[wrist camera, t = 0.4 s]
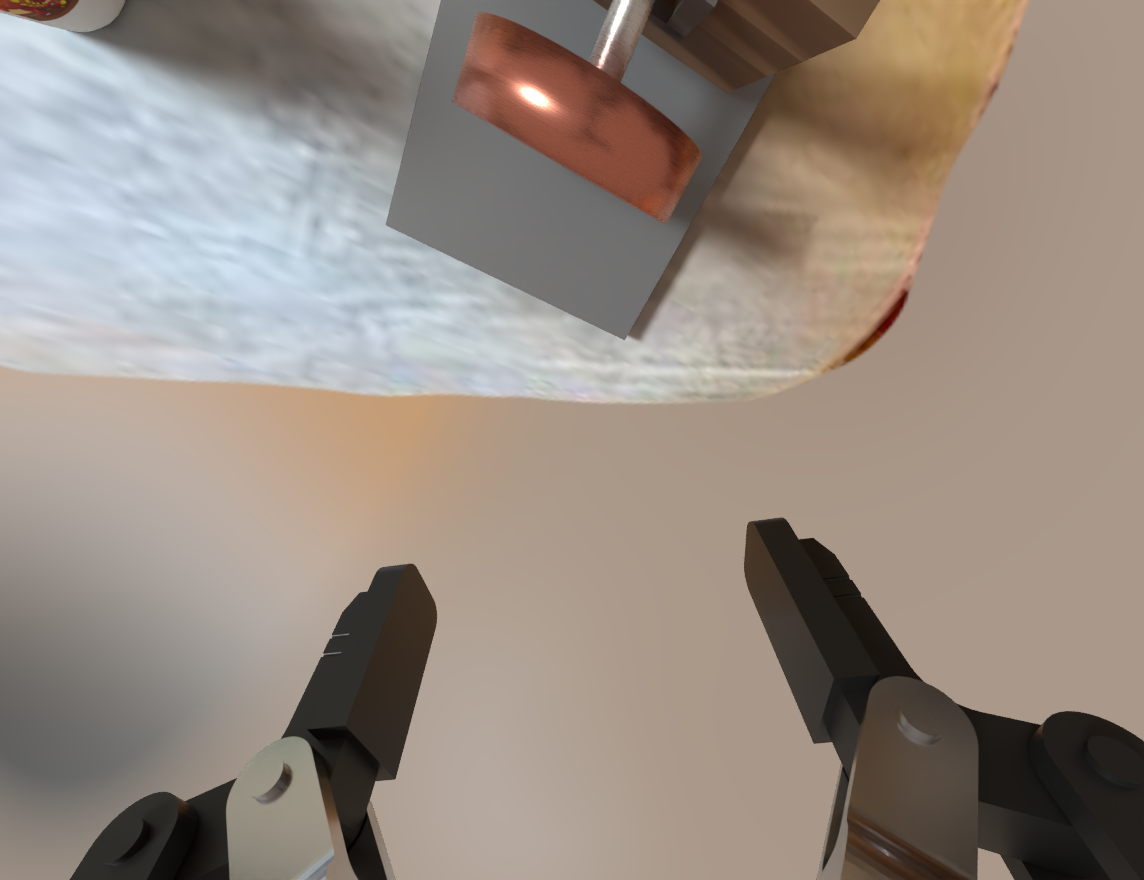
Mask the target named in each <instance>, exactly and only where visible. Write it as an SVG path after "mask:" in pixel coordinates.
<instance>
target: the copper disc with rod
mask: <svg viewBox="0 0 1144 880" xmlns="http://www.w3.org/2000/svg"><path fill="white" fill-rule="evenodd" d="M655 1H656V0H612V3H611V5H610V8H609V10H608V13H607V15H606V18H605V20H604V23H603V26H602V28H601V31H600V33H599V36H598V38H597V41H596V43H595V46H594V48H593V51H592V54H591V56H590V59H589V61H586V60H585V59H583V58H581V57H580V56H578V55H576V54H575V53H573V52H571V51H570V50H568V49H566V48H564V47H562V46H561V45H559V44H557V43H555V42H554V41H552V40H550V39H548V38H546V37H544V36H542V35H540V34H538V33H536V32H535V31H533V30H530V29H528V28H526V27H524V26H522V25H520V24H518V23H515V22H513V21H511V20H508V19H506V18H503V17H500V16H497V15H494V14H490V13H485V12H479V13H477V14H476V17H475V20H474V24H473V28H472V31H471V35H470V38H469V42H468V46H467V49H466V53H465V56H464V60H463V63H462V67H461V71H460V74H459V78H458V81H457V85H456V88H455V92H454V96H453V99H452V102H453V103H455V104H457V105H458V106H460V107H461V108H463V109H465V110H466V111H468V112H470V113H472V114H473V115H475V116H477V117H478V118H480V119H482V120H483V121H485V122H487V123H488V124H490V125H492V126H494V127H495V128H497V129H499V130H500V131H502V132H504V133H506V134H507V135H509V136H511V137H512V138H514V139H516V140H518V141H519V142H521V143H523V144H525V145H526V146H528V147H530V148H531V149H533V150H535V151H537V152H538V153H540V154H542V155H544V156H545V157H547V158H549V159H550V160H552V161H554V162H556V163H557V164H559V165H561V166H563V167H564V168H566V169H568V170H570V171H571V172H573V173H575V174H577V175H578V176H580V177H582V178H584V179H585V180H587V181H589V182H591V183H592V184H594V185H596V186H598V187H599V188H601V189H603V190H605V191H606V192H608V193H610V194H612V195H613V196H615V197H617V198H619V199H620V200H622V201H624V202H626V203H627V204H629V205H631V206H633V207H635V208H636V209H638V210H640V211H642V212H643V213H645V214H647V215H649V216H651V217H652V218H654V219H656V220H658V221H660V222H662V223H664V224H667V222H668V220H669V218H670V216H671V214H672V212H673V211H674V209H675V207H676V205H677V203H678V201H679V199H680V198H681V196H682V194H683V192H684V190H685V188H686V187H687V185H688V183H689V181H690V179H691V177H692V175H693V174H694V172H695V170H696V168H697V166H698V164H699V163H700V161H701V159H702V154H701V151H700V150H699V148H698V147H697V145H696V144H695V143H694V142H693V141H692V140H691V139H690V137H688V136H687V135H686V134H685V133H684V132H683V131H682V130H681V129H680V128H679V127H678V126H677V125H676V124H674V123H673V122H672V121H671V120H670V119H669V118H667V117H666V116H665V115H664V114H662V113H661V112H660V111H659V110H657V109H656V108H655V107H654V106H652V105H651V104H650V103H648V102H647V101H646V100H644V99H643V98H642V97H640V96H639V95H637V94H636V93H635V92H633V91H632V90H630V89H629V88H628V87H626V86H625V85H623V84H622V83H621V81H622V78H623V76H624V74H625V71H626V69H627V67H628V64H629V62H630V60H631V57H632V55H633V53H634V50H635V48H636V46H637V43H638V41H639V39H640V36H641V34H642V32H643V29H644V27H645V25H646V22H647V20H648V18H649V15H650V13H651V11H652V8H653V6H654V4H655Z"/></svg>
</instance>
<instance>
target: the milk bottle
mask: <svg viewBox="0 0 1144 880" xmlns="http://www.w3.org/2000/svg"><path fill="white" fill-rule="evenodd" d="M124 4H125V0H0V12H1V13H5V14H8V15H12V16H16V17H19V18H23V19H26V20H30V21H34V22H37V23H41V24H45V25H48V26H52V27H56V28H60V29H65V30H69V31H75V32H89V31H94V30H97V29H100V28H102V27H104V26H106V25H108V24H110V23H111V22H112V21H113V20H114V19H115V18H116V17H117V16H118V15H119V14H120V12H121V9H122V7H123V6H124Z"/></svg>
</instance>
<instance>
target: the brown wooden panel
mask: <svg viewBox="0 0 1144 880" xmlns="http://www.w3.org/2000/svg"><path fill="white" fill-rule="evenodd" d="M593 1H595V2H596V3H597V4H599V5H600V6H602V7H603V8H605V9H606V10H607V11H608V10H609V8H610V5H611V3H612V0H593ZM879 1H880V0H656V1H655V4H654V6H653V8H652V11H651V13H650V15H649V18H648V20H647V22H646V25H645V27H644V29H643V32H642V35H643V36H645V37H646V38H648V39H649V40H650V41H652V42H653V43H655V44H656V45H658V46H659V47H661V48H662V49H663V50H665V51H666V52H668V53H669V54H671V55H672V56H673V57H675V58H676V59H678V60H679V61H681V62H682V63H684V64H685V65H686V66H688V67H689V68H691V69H692V70H694V71H695V72H696V73H698V74H699V75H701V76H702V77H704V78H705V79H706V80H708V81H709V82H711V83H712V84H714V85H715V86H717V87H718V88H719V89H721V90H722V91H724V92H725V93H729V92H732V91H734V90H736V89H739V88H741V87H743V86H746V85H748V84H750V83H753V82H755V81H757V80H760V79H762V78H765V77H767V76H769V75H772V74H774V73H776V72H779V71H781V70H783V69H786V68H788V67H790V66H793V65H795V64H797V63H800V62H802V61H805V60H807V59H809V58H812V57H814V56H816V55H819V54H821V53H823V52H826V51H828V50H830V49H833V48H835V47H838V46H840V45H842V44H845V43H847V42H849V41H852V40H854V39H856V38H857V37H858V35H859V33H860V32H861V30H862V28H863V27H864V25H865V24H866V22H867V20H868V19H869V17H870V16H871V14H872V12H873V11H874V9H875V7H876V6H877V4H878V3H879Z"/></svg>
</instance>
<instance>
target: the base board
mask: <svg viewBox="0 0 1144 880" xmlns="http://www.w3.org/2000/svg"><path fill="white" fill-rule="evenodd" d="M479 12H485V13H490V14H494V15H497V16H500V17H503V18H506V19H508V20H511V21H513V22H515V23H518V24H520V25H522V26H524V27H526V28H528V29H530V30H533V31H535V32H536V33H538V34H540V35H542V36H544V37H546V38H548V39H550V40H552V41H554V42H555V43H557V44H559V45H561V46H562V47H564V48H566V49H568V50H570V51H571V52H573V53H575V54H576V55H578V56H580V57H581V58H583V59H585V60H586V61H589V59H590V56H591V54H592V51H593V48H594V46H595V43H596V41H597V38H598V36H599V33H600V31H601V28H602V26H603V23H604V20H605V18H606V15H607V13H608V11H607V10H606V9H605V8H603V7H602V6H600V5H599V4H597V3H596V2H595V1H593V0H441V3H440V7H439V11H438V15H437V19H436V23H435V27H434V31H433V35H432V39H431V43H430V47H429V51H428V55H427V59H426V64H425V68H424V72H423V76H422V80H421V84H420V88H419V92H418V96H417V100H416V104H415V108H414V112H413V116H412V120H411V124H410V128H409V132H408V137H407V141H406V145H405V149H404V153H403V157H402V161H401V165H400V169H399V173H398V177H397V181H396V185H395V189H394V193H393V197H392V201H391V205H390V210H389V214H388V218H387V222H386V225H387V226H389V227H391V228H393V229H395V230H397V231H399V232H401V233H403V234H405V235H407V236H409V237H412V238H414V239H416V240H418V241H420V242H422V243H424V244H426V245H428V246H430V247H432V248H434V249H436V250H439V251H441V252H443V253H445V254H447V255H449V256H451V257H453V258H455V259H457V260H459V261H461V262H463V263H466V264H468V265H470V266H472V267H474V268H476V269H478V270H480V271H482V272H484V273H486V274H488V275H490V276H493V277H495V278H497V279H499V280H501V281H503V282H505V283H507V284H509V285H511V286H513V287H515V288H517V289H520V290H522V291H524V292H526V293H528V294H530V295H532V296H534V297H536V298H538V299H540V300H542V301H544V302H547V303H549V304H551V305H553V306H555V307H557V308H559V309H561V310H563V311H565V312H567V313H569V314H571V315H574V316H576V317H578V318H580V319H582V320H584V321H586V322H588V323H590V324H592V325H594V326H596V327H598V328H601V329H603V330H605V331H607V332H609V333H611V334H613V335H615V336H617V337H619V338H621V339H623V340H625V339H626V337H627V335H628V333H629V332H630V330H631V328H632V326H633V325H634V323H635V321H636V319H637V318H638V316H639V314H640V312H641V311H642V309H643V307H644V305H645V303H646V302H647V300H648V298H649V296H650V295H651V293H652V291H653V289H654V288H655V286H656V284H657V282H658V281H659V279H660V277H661V275H662V273H663V272H664V270H665V268H666V266H667V265H668V263H669V261H670V259H671V258H672V256H673V254H674V252H675V251H676V249H677V247H678V245H679V243H680V242H681V240H682V238H683V236H684V235H685V233H686V231H687V229H688V228H689V226H690V224H691V222H692V221H693V219H694V217H695V215H696V213H697V212H698V210H699V208H700V206H701V205H702V203H703V201H704V199H705V198H706V196H707V194H708V192H709V191H710V189H711V187H712V185H713V183H714V182H715V180H716V178H717V176H718V175H719V173H720V171H721V169H722V168H723V166H724V164H725V162H726V161H727V159H728V157H729V155H730V153H731V152H732V150H733V148H734V146H735V145H736V143H737V141H738V139H739V138H740V136H741V134H742V132H743V131H744V129H745V127H746V125H747V123H748V122H749V120H750V118H751V116H752V115H753V113H754V111H755V109H756V108H757V106H758V104H759V102H760V101H761V99H762V97H763V95H764V93H765V92H766V90H767V88H768V86H769V85H770V83H771V81H772V79H773V78H774V76H775V74H776V73H774V74H772V75H769V76H767V77H765V78H762V79H760V80H757V81H755V82H753V83H750V84H748V85H746V86H743V87H741V88H739V89H736V90H734V91H732V92H729V93H725V92H724V91H722V90H721V89H719V88H718V87H717V86H715V85H714V84H712V83H711V82H709V81H708V80H706V79H705V78H704V77H702V76H701V75H699V74H698V73H696V72H695V71H694V70H692V69H691V68H689V67H688V66H686V65H685V64H684V63H682V62H681V61H679V60H678V59H676V58H675V57H673V56H672V55H671V54H669V53H668V52H666V51H665V50H663V49H662V48H661V47H659V46H658V45H656V44H655V43H653V42H652V41H650V40H649V39H648V38H646V37H645V36H643V35H642V34H641V36H640V39H639V41H638V43H637V46H636V48H635V50H634V53H633V55H632V57H631V60H630V62H629V64H628V67H627V69H626V71H625V74H624V76H623V78H622V81H621V83H622V84H623V85H625V86H626V87H628V88H629V89H630V90H632V91H633V92H635V93H636V94H637V95H639V96H640V97H642V98H643V99H644V100H646V101H647V102H648V103H650V104H651V105H652V106H654V107H655V108H656V109H657V110H659V111H660V112H661V113H662V114H664V115H665V116H666V117H667V118H669V119H670V120H671V121H672V122H673V123H674V124H676V125H677V126H678V127H679V128H680V129H681V130H682V131H683V132H684V133H685V134H686V135H687V136H688V137H690V139H691V140H692V141H693V142H694V143H695V144H696V145H697V147H698V148H699V150H700V151H701V154H702V159H701V161H700V163H699V164H698V166H697V168H696V170H695V172H694V174H693V175H692V177H691V179H690V181H689V183H688V185H687V187H686V188H685V190H684V192H683V194H682V196H681V198H680V199H679V201H678V203H677V205H676V207H675V209H674V211H673V212H672V214H671V216H670V218H669V220H668V222H667V224H664V223H662V222H660V221H658V220H656V219H654V218H652V217H651V216H649V215H647V214H645V213H643V212H642V211H640V210H638V209H636V208H635V207H633V206H631V205H629V204H627V203H626V202H624V201H622V200H620V199H619V198H617V197H615V196H613V195H612V194H610V193H608V192H606V191H605V190H603V189H601V188H599V187H598V186H596V185H594V184H592V183H591V182H589V181H587V180H585V179H584V178H582V177H580V176H578V175H577V174H575V173H573V172H571V171H570V170H568V169H566V168H564V167H563V166H561V165H559V164H557V163H556V162H554V161H552V160H550V159H549V158H547V157H545V156H544V155H542V154H540V153H538V152H537V151H535V150H533V149H531V148H530V147H528V146H526V145H525V144H523V143H521V142H519V141H518V140H516V139H514V138H512V137H511V136H509V135H507V134H506V133H504V132H502V131H500V130H499V129H497V128H495V127H494V126H492V125H490V124H488V123H487V122H485V121H483V120H482V119H480V118H478V117H477V116H475V115H473V114H472V113H470V112H468V111H466V110H465V109H463V108H461V107H460V106H458V105H457V104H455V103H453V102H452V99H453V96H454V92H455V88H456V85H457V81H458V78H459V74H460V71H461V67H462V63H463V60H464V56H465V53H466V49H467V46H468V42H469V38H470V35H471V31H472V28H473V24H474V20H475V17H476V14H477V13H479Z"/></svg>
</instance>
